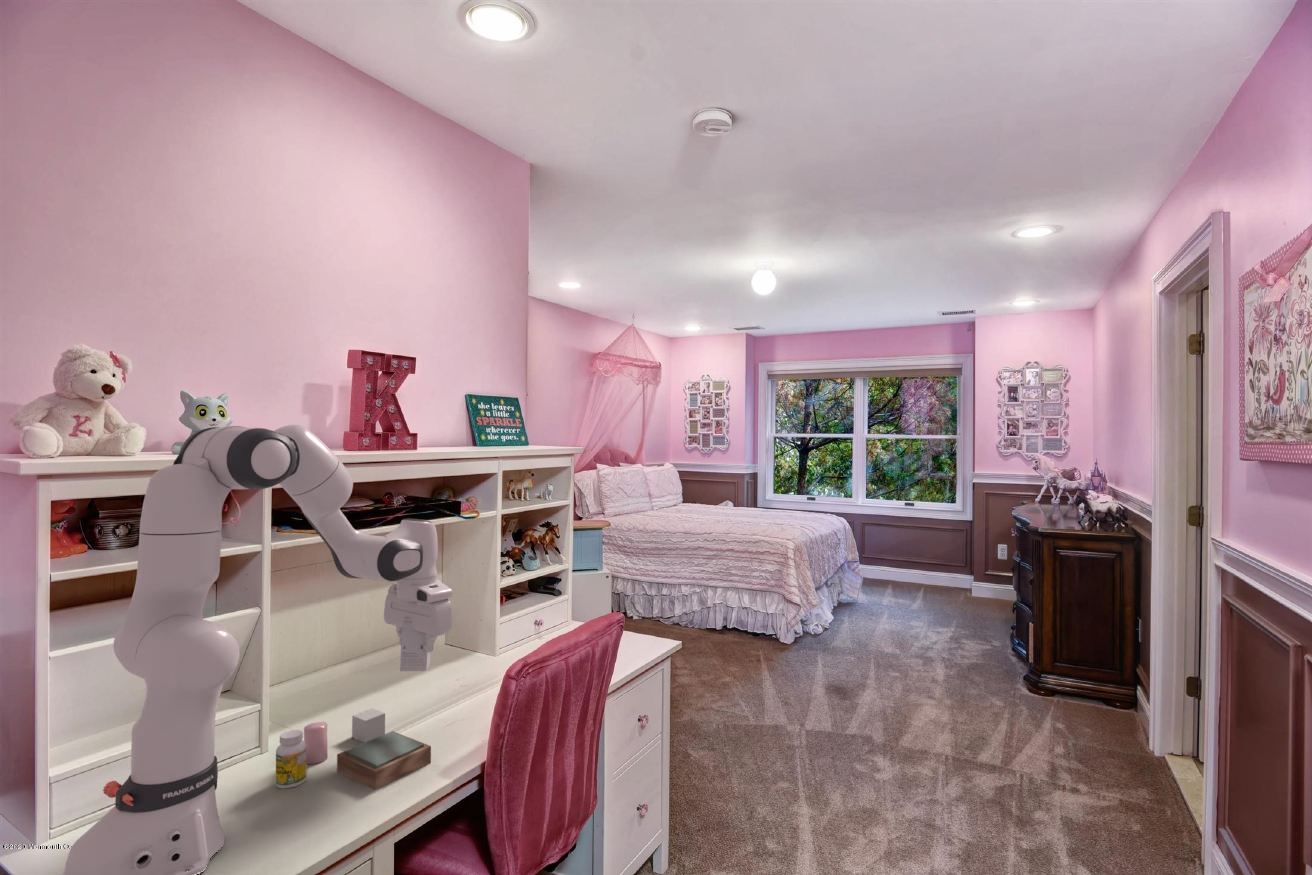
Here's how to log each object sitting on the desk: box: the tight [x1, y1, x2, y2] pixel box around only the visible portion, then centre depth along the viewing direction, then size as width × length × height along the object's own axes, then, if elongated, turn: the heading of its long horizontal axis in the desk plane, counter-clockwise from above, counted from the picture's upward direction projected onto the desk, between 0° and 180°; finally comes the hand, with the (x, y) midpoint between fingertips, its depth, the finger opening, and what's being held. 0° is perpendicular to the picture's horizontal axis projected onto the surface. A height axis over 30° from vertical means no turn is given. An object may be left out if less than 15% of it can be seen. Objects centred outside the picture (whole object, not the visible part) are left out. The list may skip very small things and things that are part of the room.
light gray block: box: [351, 708, 386, 743], centre depth 151 cm, size 5×5×5 cm
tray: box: [336, 730, 432, 791], centre depth 137 cm, size 13×13×4 cm
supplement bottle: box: [275, 729, 308, 789], centre depth 131 cm, size 5×5×10 cm
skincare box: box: [399, 617, 432, 672], centre depth 152 cm, size 6×4×12 cm
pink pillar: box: [303, 721, 329, 765], centre depth 140 cm, size 4×4×7 cm
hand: (416, 648), depth 152 cm, fingers closed on skincare box, 7 cm apart
